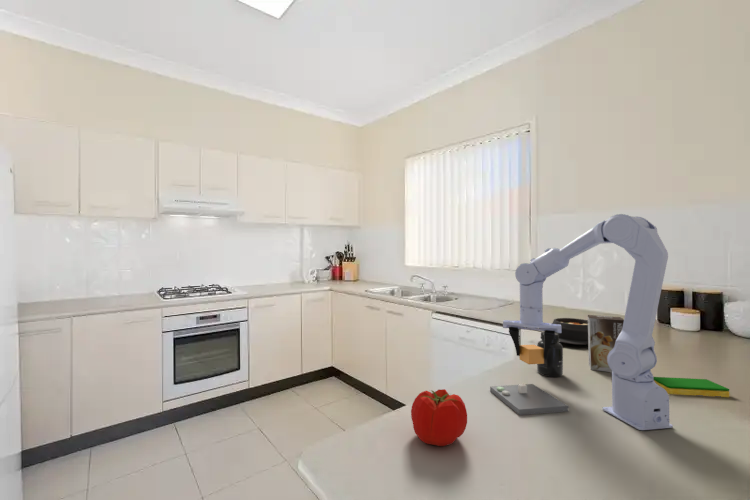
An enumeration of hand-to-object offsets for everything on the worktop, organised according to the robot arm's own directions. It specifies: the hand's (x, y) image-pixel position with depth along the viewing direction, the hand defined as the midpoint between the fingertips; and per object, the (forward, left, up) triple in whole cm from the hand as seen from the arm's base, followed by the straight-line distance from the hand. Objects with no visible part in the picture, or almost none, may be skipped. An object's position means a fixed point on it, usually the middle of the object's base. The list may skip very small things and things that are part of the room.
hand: (531, 356), depth 92 cm
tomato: (-23, +35, -8) cm, 43 cm away
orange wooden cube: (0, 0, -1) cm, 1 cm away
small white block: (-8, +8, -6) cm, 13 cm away
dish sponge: (-10, -38, -8) cm, 40 cm away
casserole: (+38, -44, -8) cm, 59 cm away
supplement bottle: (+6, -10, -8) cm, 14 cm away
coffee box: (+7, -30, -8) cm, 32 cm away
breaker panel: (-10, +8, -7) cm, 15 cm away
